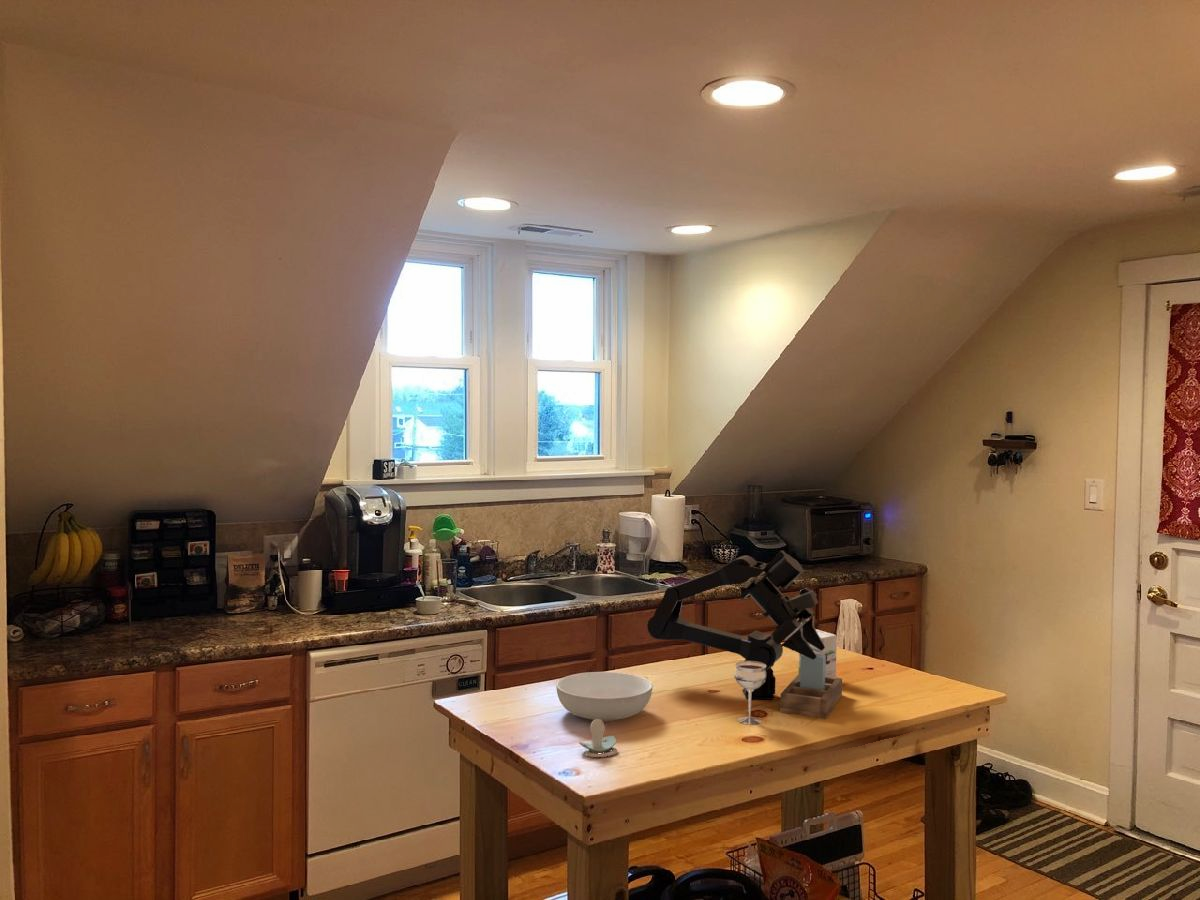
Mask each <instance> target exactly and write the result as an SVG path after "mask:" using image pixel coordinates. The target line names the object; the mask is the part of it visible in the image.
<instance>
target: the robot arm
mask: <svg viewBox="0 0 1200 900" xmlns="http://www.w3.org/2000/svg"><path fill="white" fill-rule="evenodd" d="M803 572H804V568H803V567H802V565H801V564H800V563H799V562H798V560H796V558H793V556H791V555H789V554H787V553H786V552H785V551H784V550H780V551H779V552H778V553H777V554H776V555H775V557H774V558H773V559H771V560H770V562H768V563H767V562H762V561H758V560H756V559H755V558H754V557H752V556H750V555H742V556H739V557H737V558H735V559H733V560H731V561H729V562H728V563H726V564H724V565H722V566H721V567H720V568H718V569H716V570H715V571H712V572H709V573H707V574H704V575H701V576H699V577H695V578H693V579H690V580H687V581H685V582H683V583H680V584H673V585H672V586H670V587H669V586H668V587H667V589H665V592H664V594H663V596H662V599H661V601H660V603H659V604H658V606H657V608H656V609H655V611H654V613H653V616H651V617H650V618H649V620H648V622H647V628H646V629H647V631H648V633H649V635H650V637H652V638H653V639H655V640H662V641H680V640H681V641H682V640H683V641H686V642H691V643H695V644H699V645H703V646H706V647H709V648H713V649H718V650H722V651H725V652H729V653H732V654H735V655H739V656H741V657H742V658H744V659H745V660H743V661H756V662H761V663H764V664H765V665H766V668H765V671H766V680H765V682H764V684H763V685H762V686H760V687H759V688H757V689H754V691H753V692H752V699H751V700H775V694H776V678H777V677H775V674H774V670H773V667H774V665H775V663H776V662H777V661H779V660H780V658H781V657H782V656H783V652H784V650H783V649H784V648H785V649H786V648H787V649H789V650H791V651H793V652H796V653H797V654H799V653H800V654H802V655H804V656H806V657H808V658H810V659H813V660H814V659H815V658H816V657H817V656H816V654H815V653H814V651H813V650H812V648H811V647H810V645H809V644H808V643H810V644H811V645H813V646H815V647H816V648H818V649H820V650H823V649H824V648H825V646H824V644H823V642H822V641H821V639H820V637H819V635H818V633H817V631H816V627H815V618H816V617H815V615H813V614H815V612H814V611H813V610H812V608H814V607H816V606H817V604H819V601H818V598H817V593H816V592H815V591H814V590H813V589H812V590H811V589H810V588H809V587H805V588H802V589H800V590H799V595H796V596H794V597H791V596H790V595H789V594H783V593H782V592H781V591H780V590H779V588H784V589H786V588H787V587H788V586H790V585H791V584H792V583H793V582H794V581H795V580H796V579H797V578H798V577H799V576H800V575H801V574H803ZM763 574H765V575H764V576H762V578H760V579H759V578H757V577H760V576H761V575H763ZM754 578H755V579H754ZM751 580H752V581H751ZM748 581H751V582H750V583H749V584H748V585H743V586H741V587H740V599H741V600H744V599H745V598H747V597H748V596H750V597H751V598H752V599H753V601H755V602H756V604H757V605H758V606H759V607H760V608H761V609H762V610H763V611H764V613H763V615H764V617H765V618H768V617H769V619H771V620H772V622H774V624H775V625H776V627H775V630H773V632H771V633H764V632H761V631H759V630H753V632H751V633H750V634H748V635H747V636H746V635H740V634H737V633H734V632H729V631H725V630H721V629H717V628H712V627H709V626H705V625H700V624H697V623H694V622H690V621H689V620H688V619H686V618H684V617H683V616H681V611H682V608H683V601H684V600H685V599H687V598H691V597H694V596H696V595H698V594H701V593H705V592H707V591H710V590H712V589H715V588H718V587H722V586H723V587H724V586H733V585H739V584H743V583H744V584H745V583H746V582H748ZM812 615H813V616H812ZM810 617H811V618H810ZM783 641H784V642H783ZM741 691H742V694H743V696H744V697H745V699H747V700H748V691H747V690H746V689H745V688H742V690H741Z"/></svg>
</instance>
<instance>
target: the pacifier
mask: <svg viewBox="0 0 1200 900" xmlns="http://www.w3.org/2000/svg"><path fill="white" fill-rule="evenodd" d="M589 727H590V728H589V729H590V732H591V735H592V738H591V739H592V740H591V741H592V743H589V742H583V741H579V742H578V744H579V745H580V746H582V747H583V748H585V749H587V751H586V753H585V754H586V756H587V757H589V758H594V757H601V758H607V756H608V757H612V756H614V755H616V754H617V753H618V749H617V748H616V747H614V746H615V744H616V737H615V736H613V735H608V736H605V737H603V735H604V733H605V727H606V726H605V723H604V721H601V720H600V719H595V720H592V722H591V723H590V726H589ZM609 750H612V751H609ZM606 751H607V752H606ZM608 751H609V752H608ZM603 752H605V753H603ZM598 753H602V754H598ZM611 755H612V756H611Z"/></svg>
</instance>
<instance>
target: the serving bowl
mask: <svg viewBox="0 0 1200 900" xmlns="http://www.w3.org/2000/svg"><path fill="white" fill-rule="evenodd" d="M555 686H556V687H555V688H556V692H557V693H556V694H557V698H558V700H559V702H560V704H561V705H562V706H563V708H564V709H565V710H566V711H568V712H569V713H571V714H573V715H575V716H577V717H580V718H583V719H587V720H591V721H594V720H595V719H600V720H601V721H602V722H612V721H613V720H614V721H617V720H618V719H619V720H623V719H626V718H630V717H632V716H635V715H637V714H639V713H641V712H642V711H643V710H644V709H645V708H646V707H647V706H648V704H649V702H650V700H651V698H652V693H653V688H654V687H653V683H652V682H651V681H650V680H649V679H647V678H645V677H643V676H639V675H635V674H630V673H624V672H619V671H618V672H614V671H594V672H593V671H592V672H591V671H590V672H589V671H587V672H580V673H576V674H575V673H574V674H571V675H567V676H564V677H561V678H560V679H558V680H557V682H556V685H555ZM614 721H613V722H614Z"/></svg>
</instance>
